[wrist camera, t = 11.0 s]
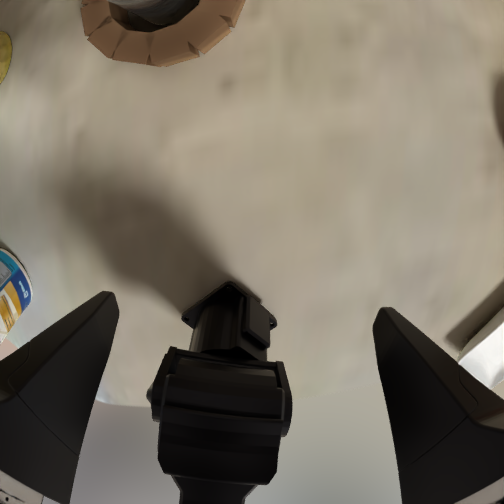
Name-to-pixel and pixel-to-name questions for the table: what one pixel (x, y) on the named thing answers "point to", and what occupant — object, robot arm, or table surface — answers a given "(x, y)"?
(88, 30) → the bead ring
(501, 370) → the salad plate
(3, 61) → the vase
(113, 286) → the table surface
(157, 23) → the grey metal cylinder
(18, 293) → the beverage bottle
